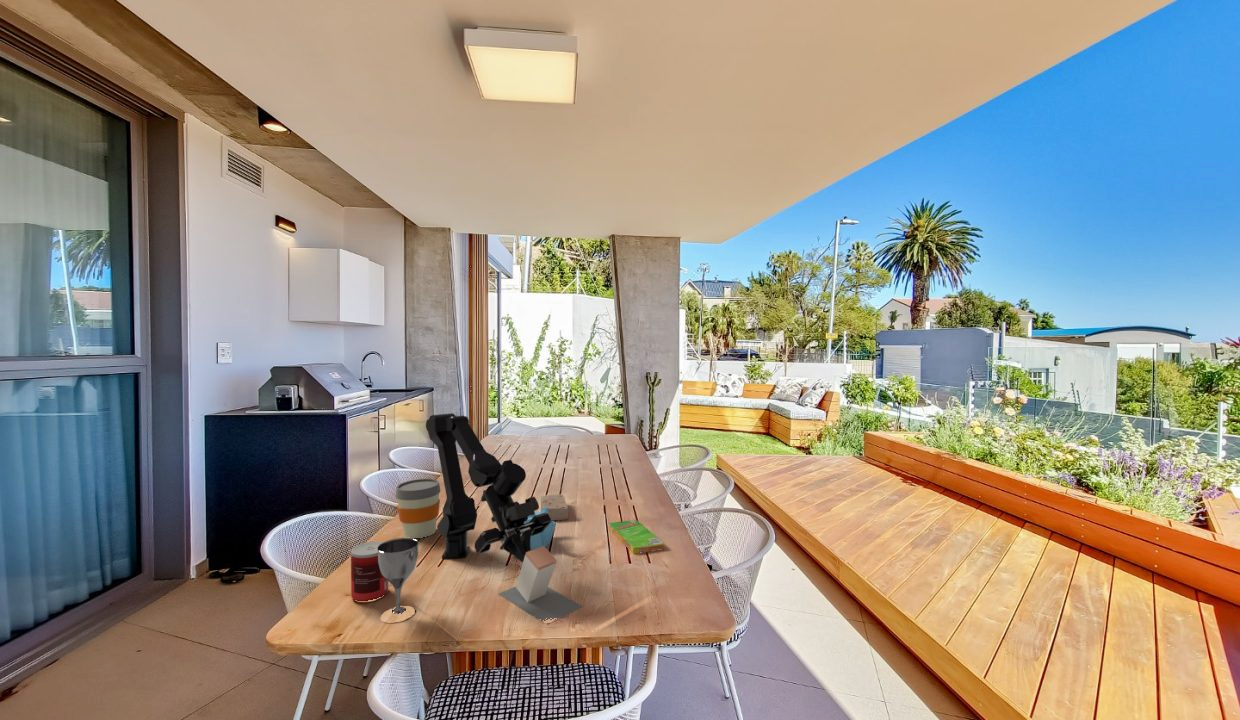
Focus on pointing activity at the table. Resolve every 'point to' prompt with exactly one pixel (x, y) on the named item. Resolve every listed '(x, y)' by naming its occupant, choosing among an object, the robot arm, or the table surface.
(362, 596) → the canned food
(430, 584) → the table surface
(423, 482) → the reusable coffee cup
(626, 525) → the game box
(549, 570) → the tall block
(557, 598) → the rubber mat
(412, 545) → the wine glass
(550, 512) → the brick
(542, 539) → the teapot
